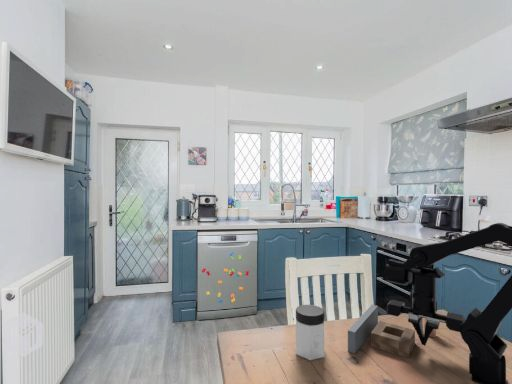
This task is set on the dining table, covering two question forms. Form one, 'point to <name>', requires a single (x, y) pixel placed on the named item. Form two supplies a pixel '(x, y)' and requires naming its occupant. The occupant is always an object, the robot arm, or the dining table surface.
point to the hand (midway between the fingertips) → (423, 344)
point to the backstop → (362, 328)
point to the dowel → (433, 333)
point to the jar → (310, 332)
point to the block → (393, 338)
